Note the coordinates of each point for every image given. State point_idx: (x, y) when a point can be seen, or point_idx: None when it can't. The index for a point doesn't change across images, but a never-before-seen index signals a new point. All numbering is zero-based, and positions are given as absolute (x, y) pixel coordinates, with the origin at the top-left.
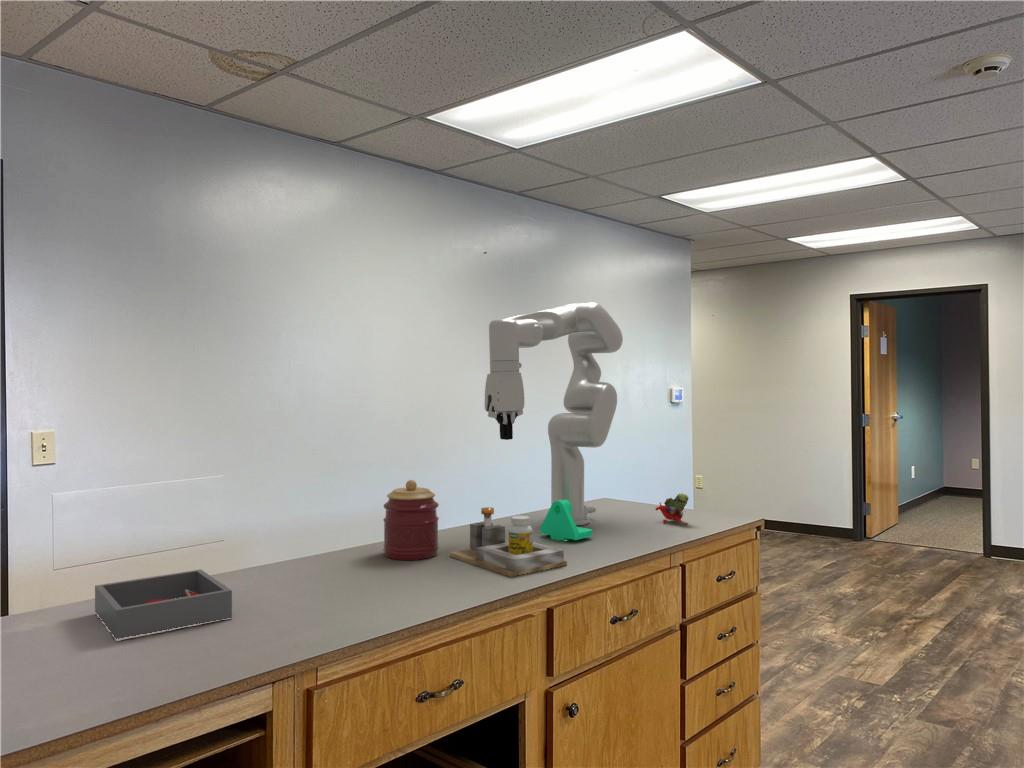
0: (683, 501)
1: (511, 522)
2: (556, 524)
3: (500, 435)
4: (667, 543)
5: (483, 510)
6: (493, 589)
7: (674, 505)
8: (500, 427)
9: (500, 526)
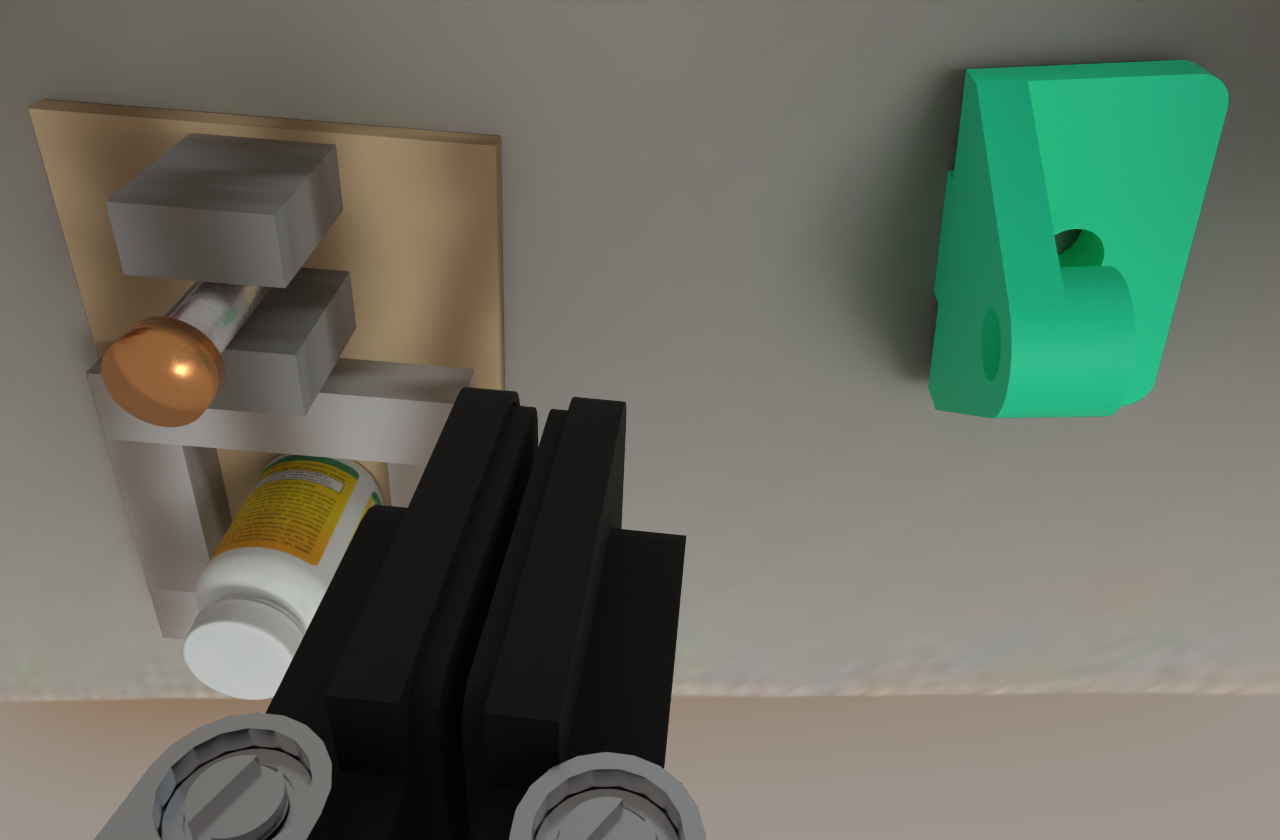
0: None
1: (196, 617)
2: (965, 274)
3: (377, 515)
4: (1256, 663)
5: (111, 384)
6: (30, 637)
7: None
8: (295, 694)
9: (271, 401)
